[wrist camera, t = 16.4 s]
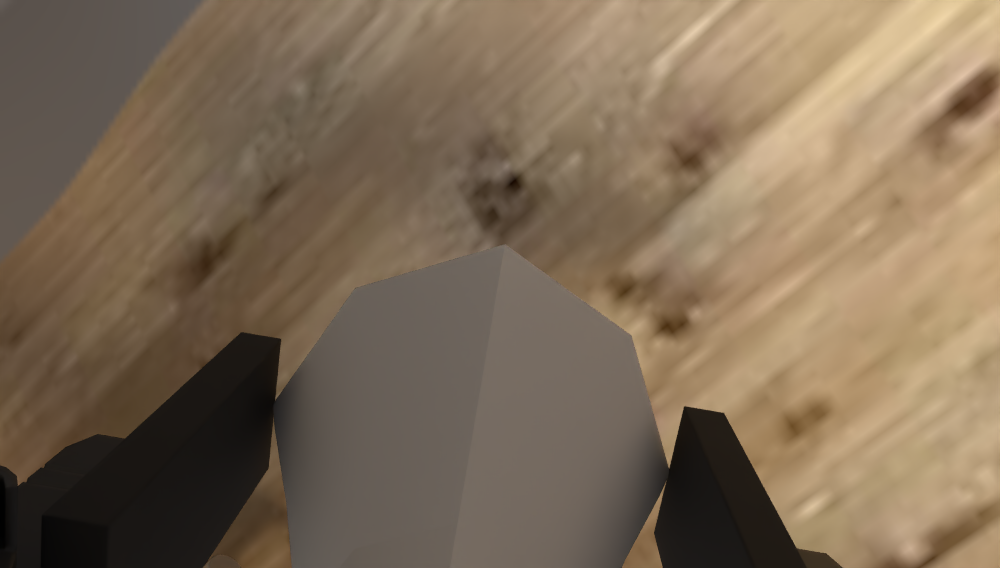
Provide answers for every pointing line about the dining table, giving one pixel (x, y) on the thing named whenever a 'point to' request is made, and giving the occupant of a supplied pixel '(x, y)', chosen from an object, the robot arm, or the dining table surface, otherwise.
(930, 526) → the dining table surface
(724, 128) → the dining table surface
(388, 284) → the flask
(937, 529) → the dining table surface
